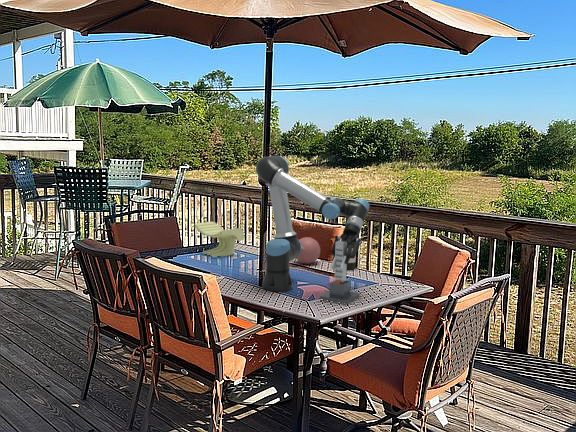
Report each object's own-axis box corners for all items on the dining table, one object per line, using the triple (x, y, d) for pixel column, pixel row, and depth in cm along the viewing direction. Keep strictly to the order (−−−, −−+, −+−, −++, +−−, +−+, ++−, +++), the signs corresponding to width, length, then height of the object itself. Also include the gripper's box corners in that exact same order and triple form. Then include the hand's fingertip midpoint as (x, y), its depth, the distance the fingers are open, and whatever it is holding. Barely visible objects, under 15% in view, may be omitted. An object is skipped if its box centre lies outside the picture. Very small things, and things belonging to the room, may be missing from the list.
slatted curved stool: (243, 256, 356) (243, 227, 353) (221, 260, 346) (221, 230, 343) (216, 248, 379) (216, 221, 376) (195, 251, 369) (194, 223, 366)
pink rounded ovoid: (282, 264, 338) (282, 238, 335) (307, 259, 351) (307, 233, 348) (300, 269, 326) (300, 242, 324) (325, 263, 340) (326, 237, 337)
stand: (333, 292, 282) (333, 274, 281) (359, 297, 275) (360, 278, 274) (319, 299, 270) (319, 281, 269) (347, 305, 263) (347, 285, 262)
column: (338, 282, 274) (339, 240, 271) (346, 283, 272) (347, 241, 269) (334, 284, 271) (335, 242, 267) (342, 285, 269) (343, 243, 265)
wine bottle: (354, 270, 324) (356, 217, 320) (339, 269, 326) (341, 216, 321) (356, 267, 333) (357, 215, 328) (341, 266, 334) (342, 214, 329)
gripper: (334, 221, 280) (317, 261, 269) (367, 224, 271) (351, 266, 260) (339, 230, 285) (322, 270, 274) (371, 234, 277) (356, 275, 265)
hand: (337, 268), depth 267 cm, fingers closed on column, 4 cm apart
